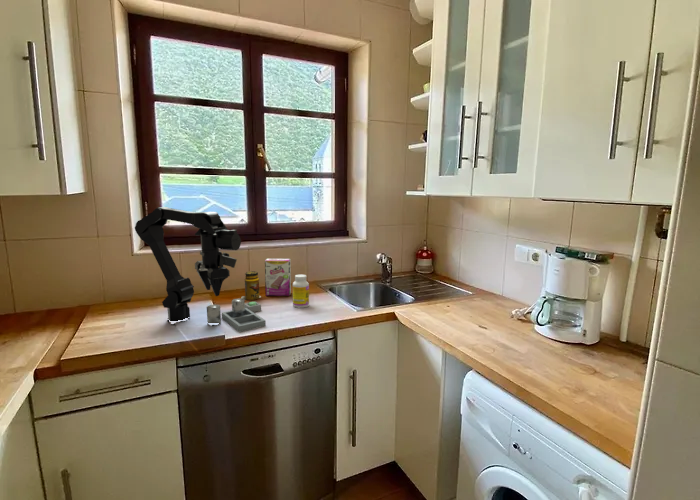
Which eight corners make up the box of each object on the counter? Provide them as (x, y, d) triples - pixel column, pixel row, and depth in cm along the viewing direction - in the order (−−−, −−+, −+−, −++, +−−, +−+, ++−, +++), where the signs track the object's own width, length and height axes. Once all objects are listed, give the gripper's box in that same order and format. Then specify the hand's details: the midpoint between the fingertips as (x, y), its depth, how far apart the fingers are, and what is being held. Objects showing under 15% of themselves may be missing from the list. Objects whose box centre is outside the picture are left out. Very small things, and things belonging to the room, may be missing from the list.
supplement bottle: (307, 308, 154) (307, 277, 152) (291, 308, 154) (291, 277, 152) (309, 303, 161) (309, 273, 159) (294, 303, 161) (293, 273, 159)
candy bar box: (265, 296, 170) (264, 260, 168) (266, 293, 175) (265, 258, 173) (290, 296, 171) (289, 260, 168) (291, 293, 176) (290, 258, 173)
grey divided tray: (239, 333, 128) (239, 326, 128) (221, 319, 141) (221, 312, 141) (265, 327, 134) (265, 320, 133) (246, 314, 147) (246, 307, 147)
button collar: (249, 314, 147) (248, 307, 146) (244, 311, 151) (243, 303, 150) (261, 311, 150) (261, 304, 149) (256, 308, 154) (255, 301, 153)
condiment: (259, 301, 163) (258, 274, 161) (239, 302, 162) (238, 274, 160) (261, 296, 170) (260, 270, 168) (241, 297, 169) (240, 270, 167)
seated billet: (235, 321, 137) (234, 302, 136) (230, 318, 141) (229, 299, 140) (247, 319, 140) (246, 300, 139) (242, 315, 144) (241, 297, 142)
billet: (210, 328, 132) (209, 309, 131) (205, 324, 136) (204, 306, 134) (222, 325, 135) (222, 307, 134) (218, 322, 138) (217, 303, 137)
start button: (250, 311, 148) (250, 304, 148) (247, 309, 150) (247, 302, 150) (257, 310, 150) (257, 303, 149) (254, 308, 152) (254, 301, 151)
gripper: (243, 250, 128) (245, 295, 131) (224, 243, 143) (226, 283, 145) (210, 253, 121) (212, 300, 124) (193, 245, 136) (195, 288, 138)
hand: (212, 292), depth 133 cm, fingers open, 9 cm apart
